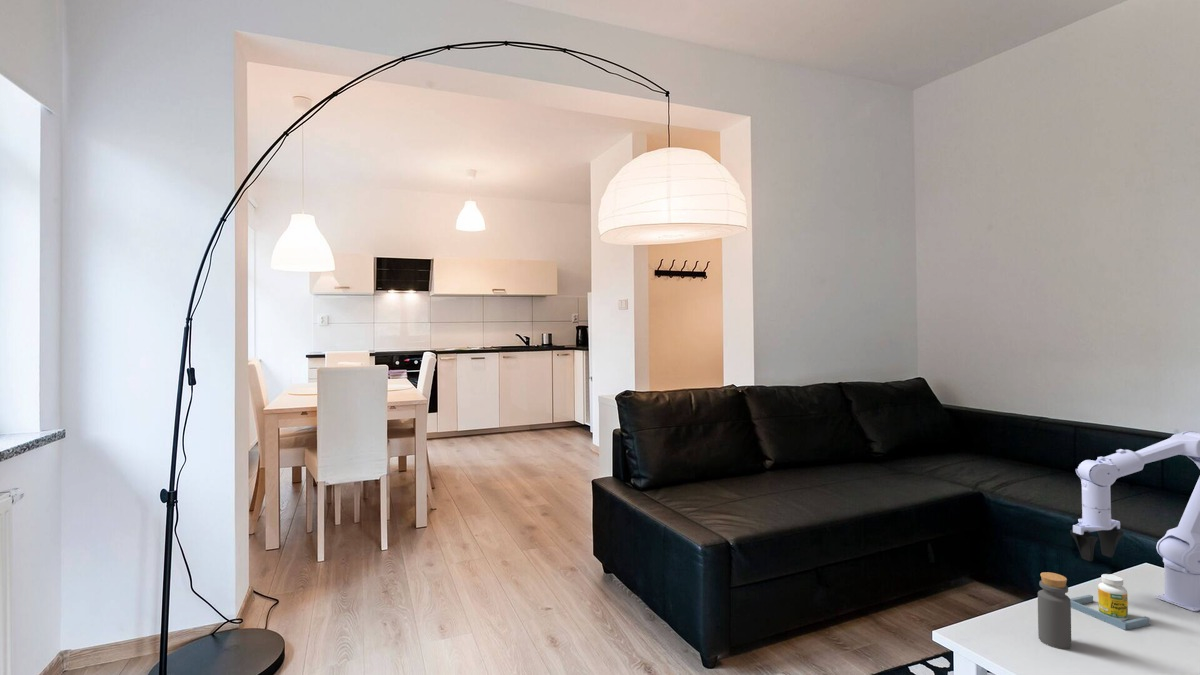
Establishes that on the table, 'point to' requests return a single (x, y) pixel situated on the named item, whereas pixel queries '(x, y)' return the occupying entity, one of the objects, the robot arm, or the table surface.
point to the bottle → (1054, 611)
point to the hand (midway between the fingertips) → (1097, 557)
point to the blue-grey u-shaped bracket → (1125, 625)
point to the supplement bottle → (1113, 597)
